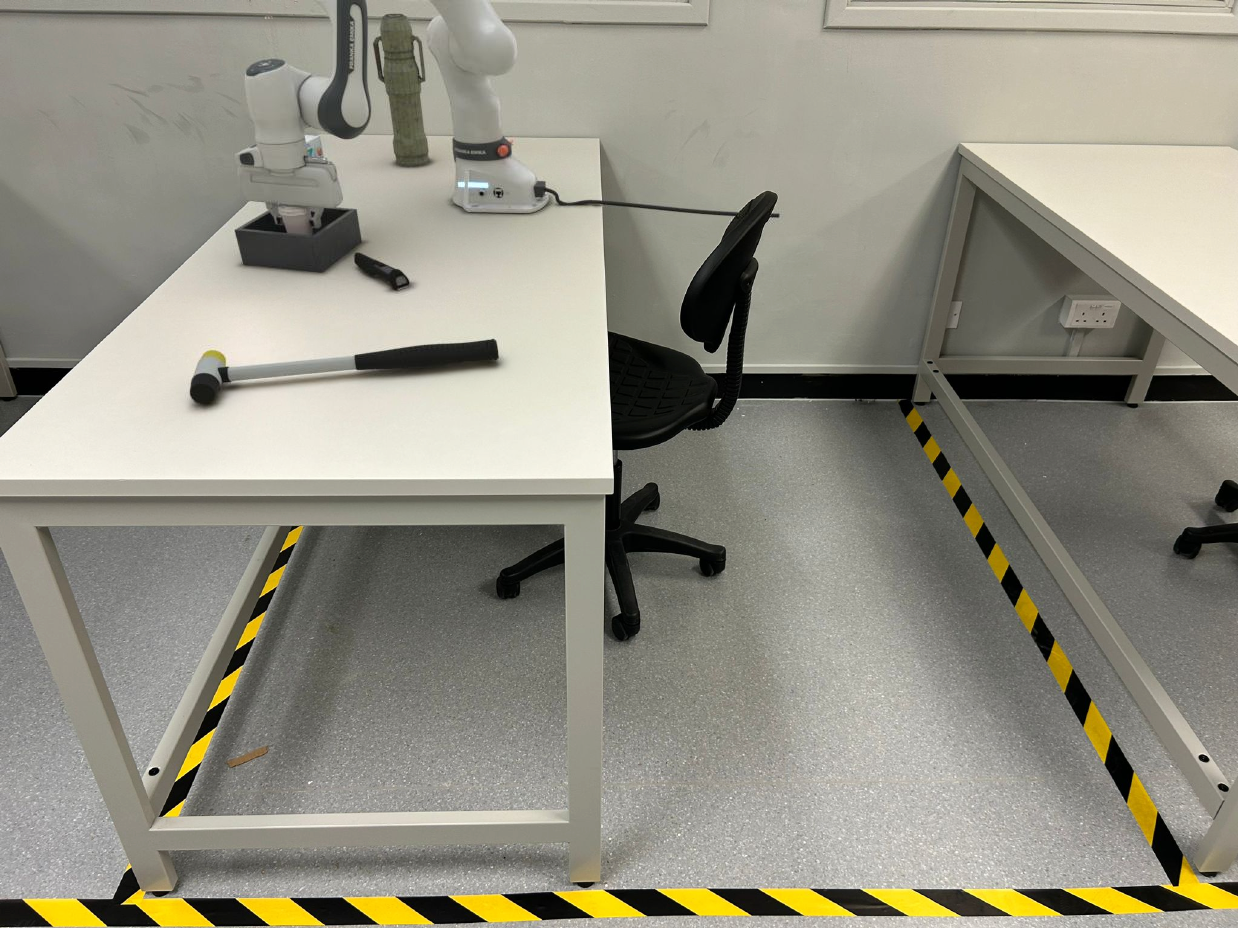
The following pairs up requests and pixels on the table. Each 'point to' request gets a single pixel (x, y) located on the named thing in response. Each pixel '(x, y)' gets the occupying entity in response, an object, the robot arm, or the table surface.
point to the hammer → (335, 364)
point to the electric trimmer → (382, 271)
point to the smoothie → (296, 218)
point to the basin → (299, 241)
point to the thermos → (403, 88)
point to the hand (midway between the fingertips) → (298, 225)
